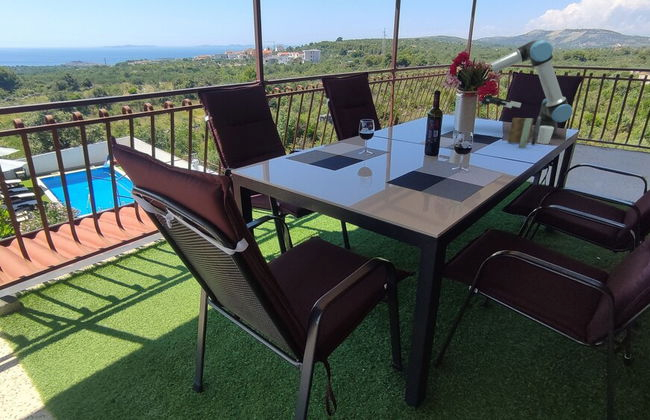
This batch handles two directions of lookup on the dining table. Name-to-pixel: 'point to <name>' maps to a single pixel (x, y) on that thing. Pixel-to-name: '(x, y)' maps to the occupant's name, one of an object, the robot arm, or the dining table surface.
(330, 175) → the dining table surface
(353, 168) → the dining table surface
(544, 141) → the white cup
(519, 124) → the brown green flat panel
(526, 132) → the frame
